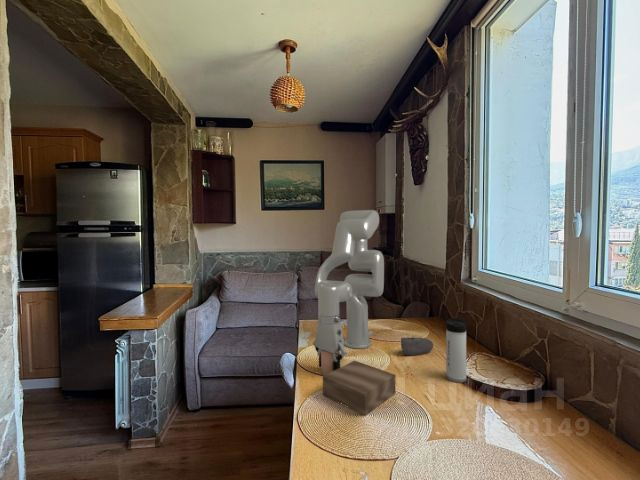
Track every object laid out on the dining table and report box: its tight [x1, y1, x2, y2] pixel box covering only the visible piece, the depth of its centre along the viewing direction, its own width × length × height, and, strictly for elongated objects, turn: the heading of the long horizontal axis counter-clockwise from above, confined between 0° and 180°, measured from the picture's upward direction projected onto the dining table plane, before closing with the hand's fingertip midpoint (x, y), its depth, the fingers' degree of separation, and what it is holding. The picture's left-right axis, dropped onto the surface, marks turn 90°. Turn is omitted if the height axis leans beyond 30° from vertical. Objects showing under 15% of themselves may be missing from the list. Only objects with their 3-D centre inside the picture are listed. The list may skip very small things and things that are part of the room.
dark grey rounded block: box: [400, 337, 434, 356], centre depth 128 cm, size 15×5×7 cm, turn 100°
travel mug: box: [445, 317, 467, 384], centre depth 106 cm, size 6×7×20 cm
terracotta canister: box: [320, 350, 337, 376], centre depth 112 cm, size 6×6×8 cm
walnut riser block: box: [322, 360, 397, 417], centre depth 97 cm, size 16×16×6 cm
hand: (329, 368), depth 112 cm, fingers open, 6 cm apart
